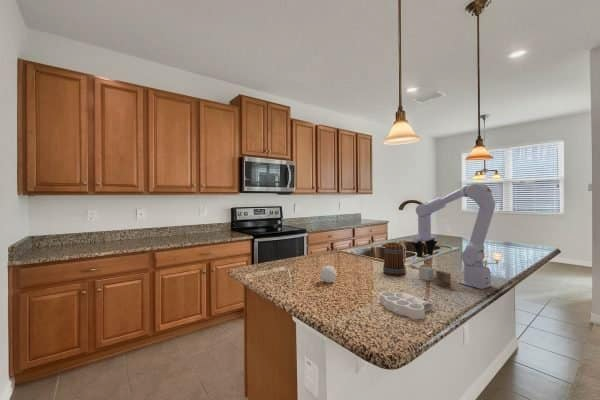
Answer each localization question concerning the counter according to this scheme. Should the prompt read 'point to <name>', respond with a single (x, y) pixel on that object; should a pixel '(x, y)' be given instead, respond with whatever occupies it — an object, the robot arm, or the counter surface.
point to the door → (436, 270)
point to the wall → (443, 279)
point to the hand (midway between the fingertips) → (425, 255)
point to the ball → (328, 274)
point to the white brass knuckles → (405, 304)
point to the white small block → (426, 273)
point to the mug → (393, 259)
